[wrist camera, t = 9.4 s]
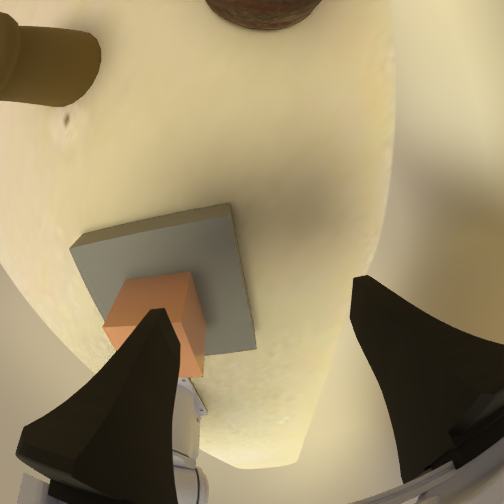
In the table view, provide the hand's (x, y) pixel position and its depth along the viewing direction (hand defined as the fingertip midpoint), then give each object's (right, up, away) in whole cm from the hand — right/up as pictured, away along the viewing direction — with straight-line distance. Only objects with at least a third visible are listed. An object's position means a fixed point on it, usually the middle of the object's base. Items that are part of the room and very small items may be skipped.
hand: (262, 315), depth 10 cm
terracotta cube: (-7, -1, +9) cm, 12 cm away
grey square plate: (-7, 0, +12) cm, 14 cm away
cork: (-14, +15, +3) cm, 21 cm away
